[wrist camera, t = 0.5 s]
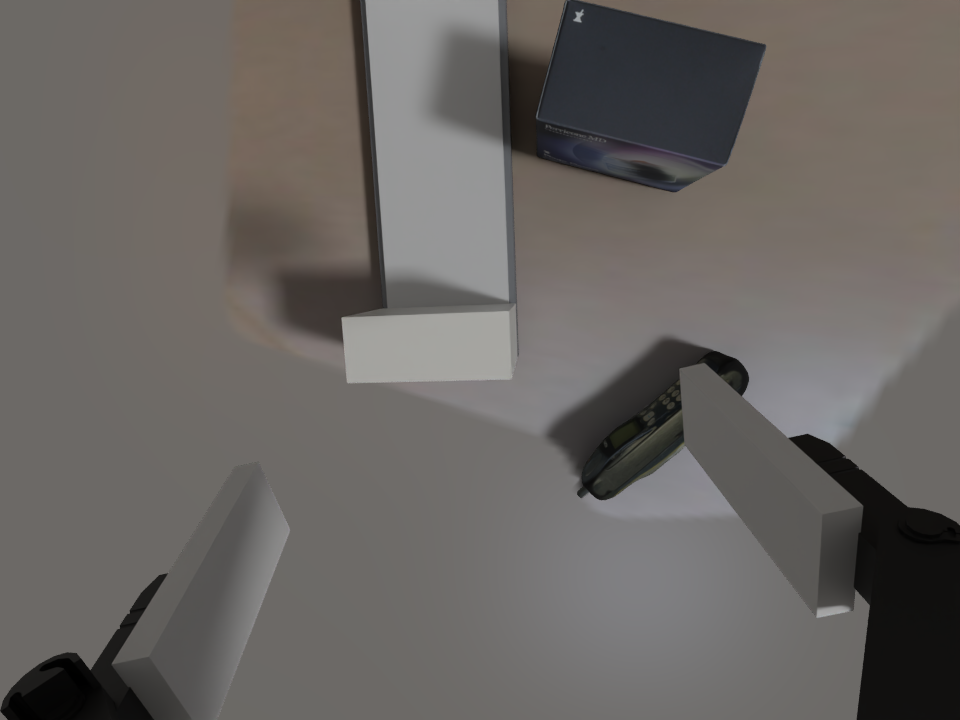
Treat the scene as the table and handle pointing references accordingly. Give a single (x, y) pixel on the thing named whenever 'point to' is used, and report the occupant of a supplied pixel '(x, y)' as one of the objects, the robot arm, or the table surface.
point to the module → (431, 344)
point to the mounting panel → (441, 150)
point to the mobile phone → (649, 436)
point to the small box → (643, 96)
